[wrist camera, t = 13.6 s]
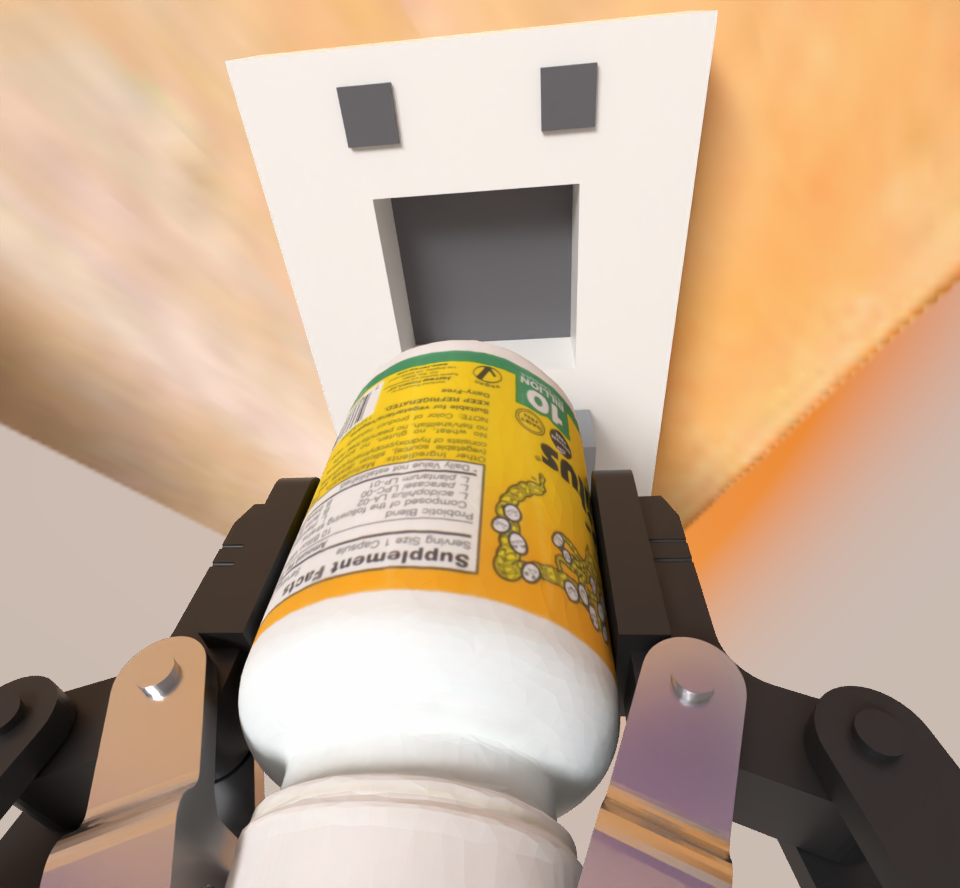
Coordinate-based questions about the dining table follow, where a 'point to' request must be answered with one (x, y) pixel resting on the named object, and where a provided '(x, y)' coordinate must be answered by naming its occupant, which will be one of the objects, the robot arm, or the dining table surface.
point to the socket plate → (492, 203)
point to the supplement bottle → (435, 642)
